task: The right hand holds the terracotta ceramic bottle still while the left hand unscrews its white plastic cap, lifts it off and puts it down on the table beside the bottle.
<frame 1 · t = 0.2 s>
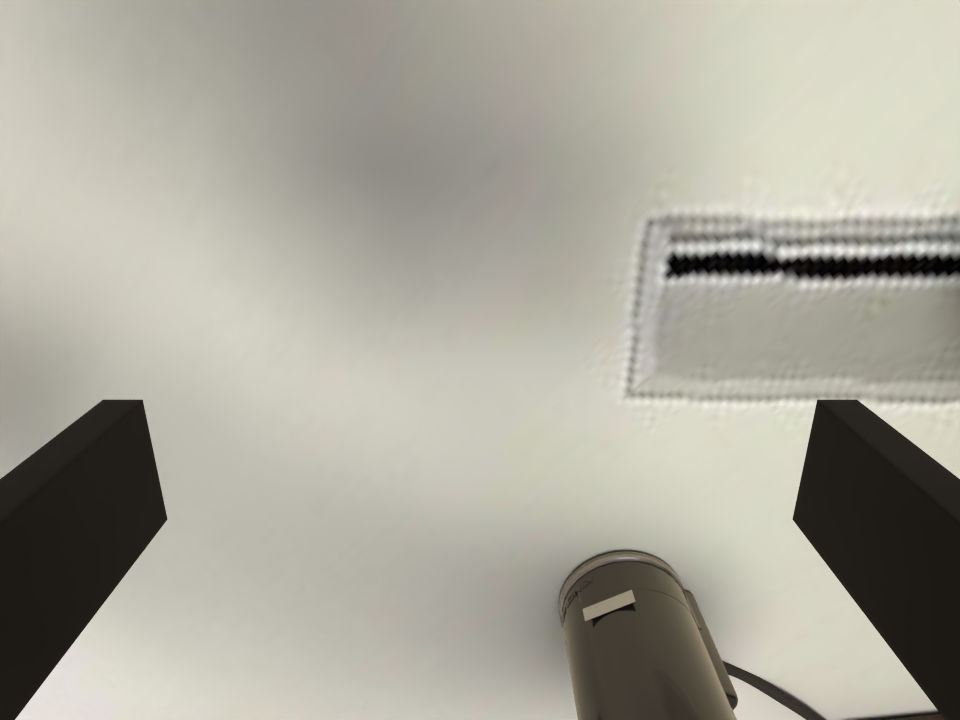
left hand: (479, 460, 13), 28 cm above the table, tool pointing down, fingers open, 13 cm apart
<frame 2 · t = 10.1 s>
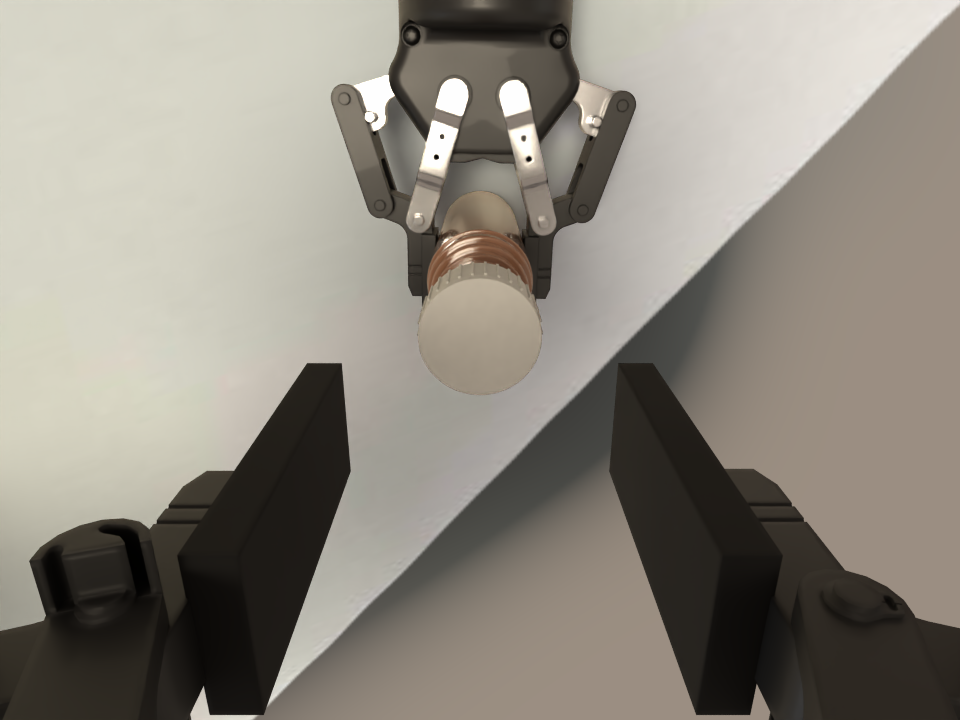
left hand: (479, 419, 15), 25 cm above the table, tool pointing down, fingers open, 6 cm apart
right hand: (479, 303, 33), fingers closed on bottle, 4 cm apart
cap: (479, 335, 20), point 19 cm above the table, screwed on, not yet turned
bottle: (480, 228, 38), on the table, touching right hand
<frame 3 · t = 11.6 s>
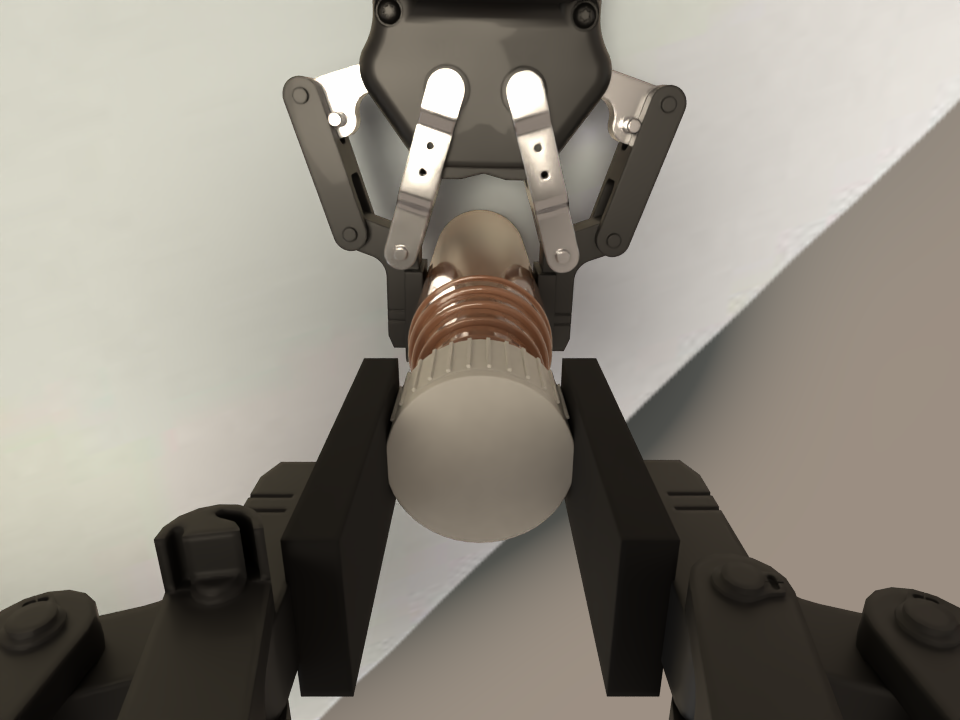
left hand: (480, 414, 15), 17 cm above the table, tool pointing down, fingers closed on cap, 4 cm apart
right hand: (479, 355, 26), fingers closed on bottle, 4 cm apart
cap: (480, 456, 13), point 19 cm above the table, screwed on, not yet turned, touching left hand
bottle: (480, 255, 31), on the table, touching right hand
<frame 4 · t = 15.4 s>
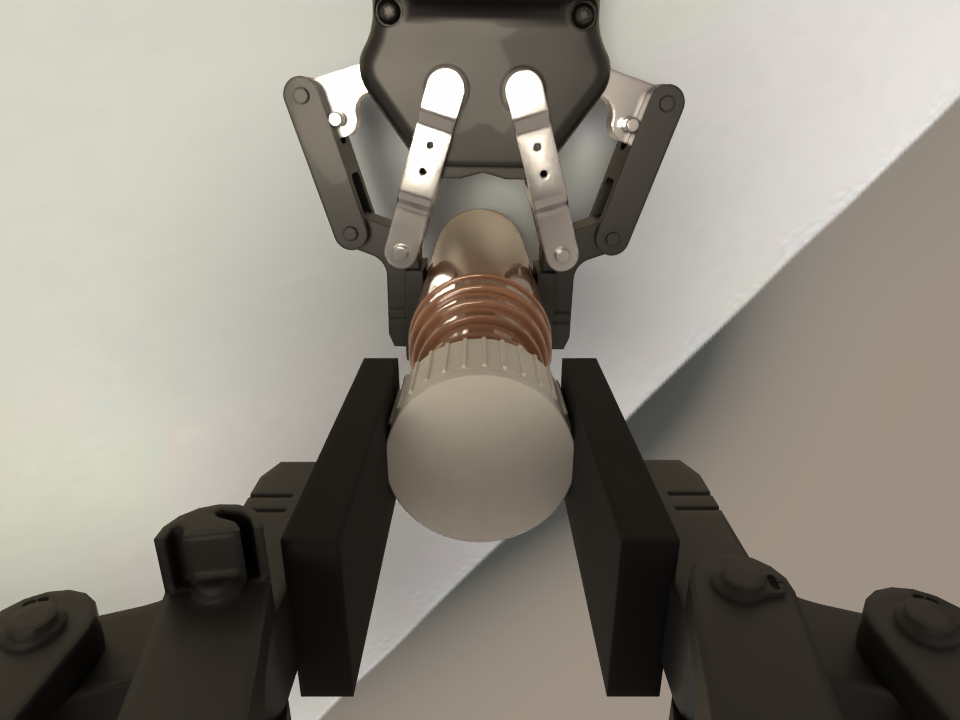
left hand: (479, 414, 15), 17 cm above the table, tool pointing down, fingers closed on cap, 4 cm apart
right hand: (479, 353, 26), fingers closed on bottle, 4 cm apart
cap: (480, 455, 13), point 19 cm above the table, turned 135° so far, risen 0.1 cm, still on its thread, touching left hand
bottle: (480, 254, 31), on the table, touching right hand
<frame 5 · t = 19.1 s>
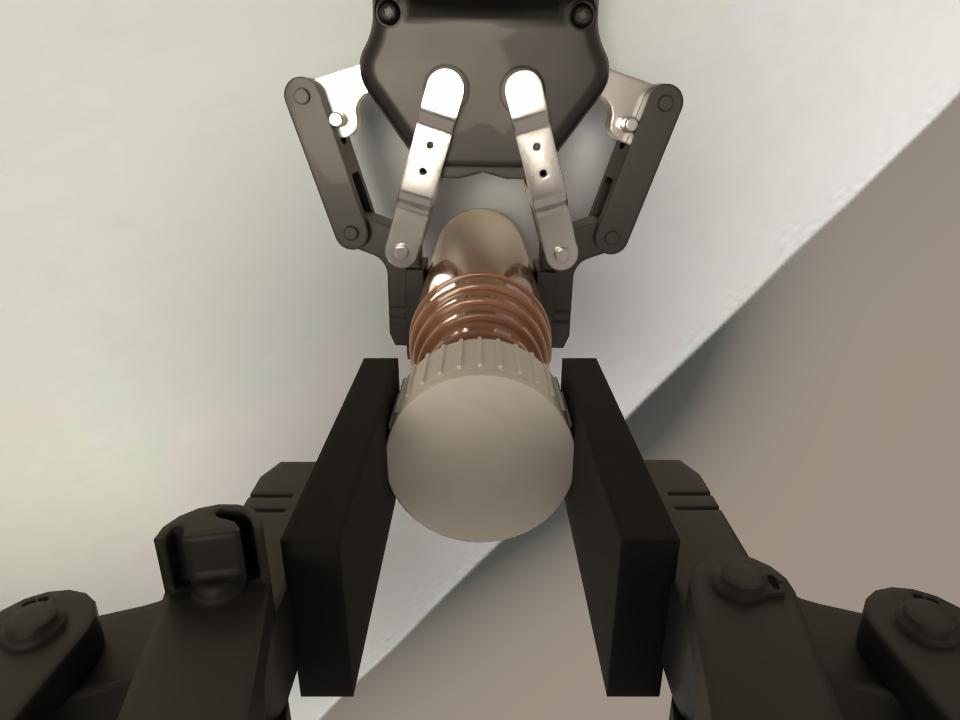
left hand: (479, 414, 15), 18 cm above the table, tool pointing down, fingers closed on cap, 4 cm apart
right hand: (479, 352, 26), fingers closed on bottle, 4 cm apart
cap: (480, 456, 13), point 19 cm above the table, turned 269° so far, risen 0.3 cm, still on its thread, touching left hand
bottle: (480, 253, 31), on the table, touching right hand
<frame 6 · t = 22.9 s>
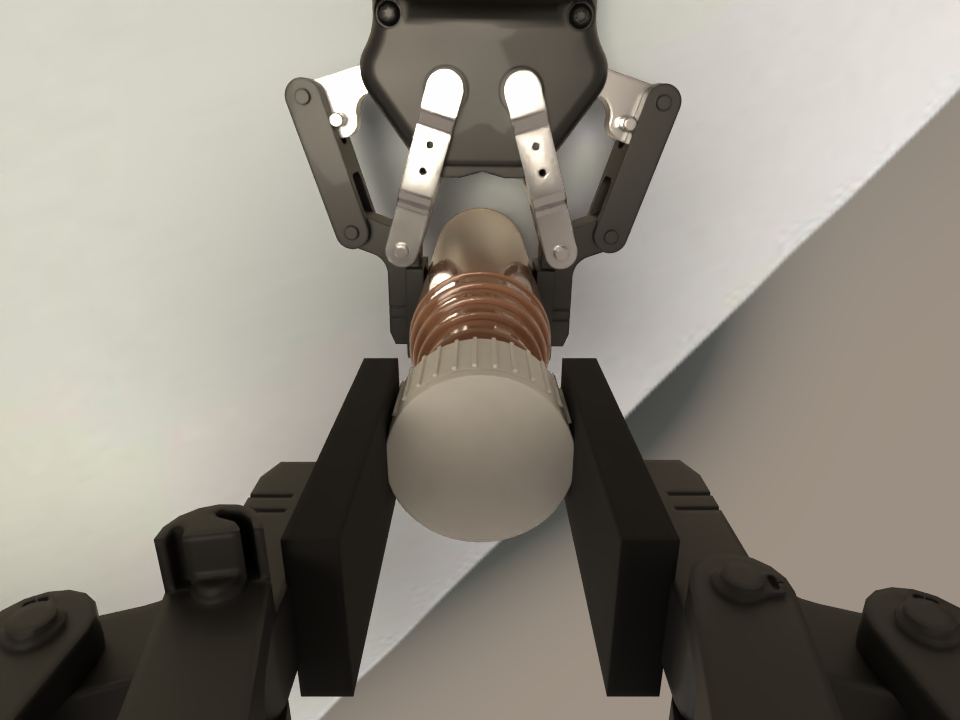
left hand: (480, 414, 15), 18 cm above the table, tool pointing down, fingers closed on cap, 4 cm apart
right hand: (479, 350, 26), fingers closed on bottle, 4 cm apart
cap: (480, 455, 13), point 20 cm above the table, turned 404° so far, risen 0.4 cm, still on its thread, touching left hand
bottle: (480, 252, 31), on the table, touching right hand
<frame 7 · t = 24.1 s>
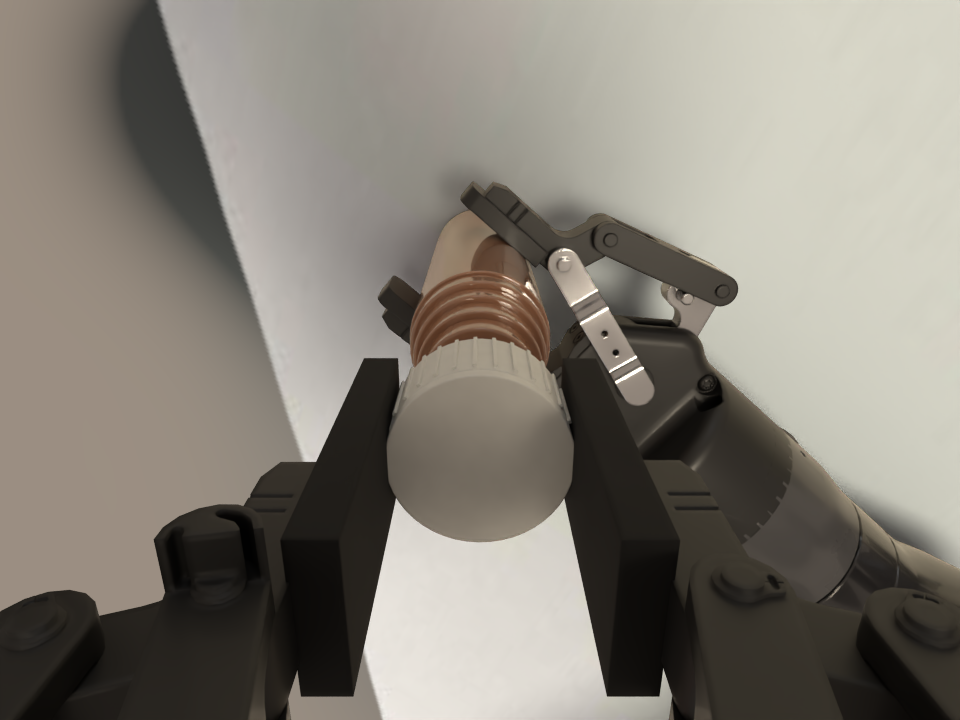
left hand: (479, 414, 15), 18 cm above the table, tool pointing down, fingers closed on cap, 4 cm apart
cap: (480, 455, 13), point 20 cm above the table, off its thread, touching left hand
bottle: (480, 253, 31), on the table, touching right hand
when the left hand's fingers open (1 cm above the table, at t = 30.9 s): cap stays where it is, point 2 cm above the table.
when the right hand's fingers open (6 cm above the table, at t = 32.1 s): bottle stays where it is, on the table.
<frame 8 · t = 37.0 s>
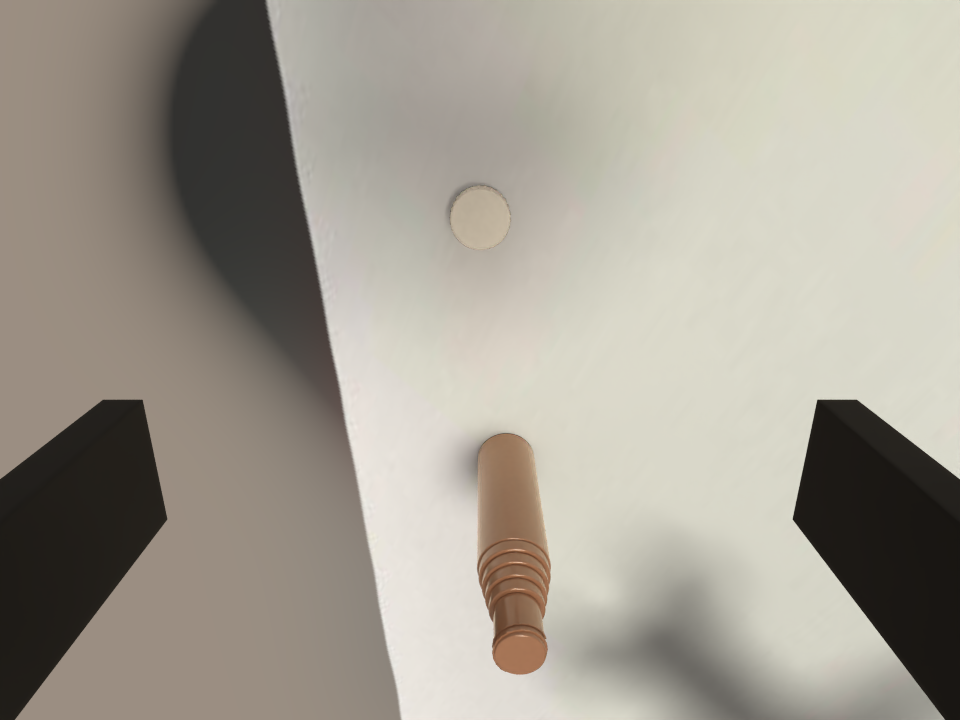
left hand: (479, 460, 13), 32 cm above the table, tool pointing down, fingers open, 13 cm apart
cap: (480, 219, 41), point 2 cm above the table, off its thread
bottle: (505, 458, 49), on the table
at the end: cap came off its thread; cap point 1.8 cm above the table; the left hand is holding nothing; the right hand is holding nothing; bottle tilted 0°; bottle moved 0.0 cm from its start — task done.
